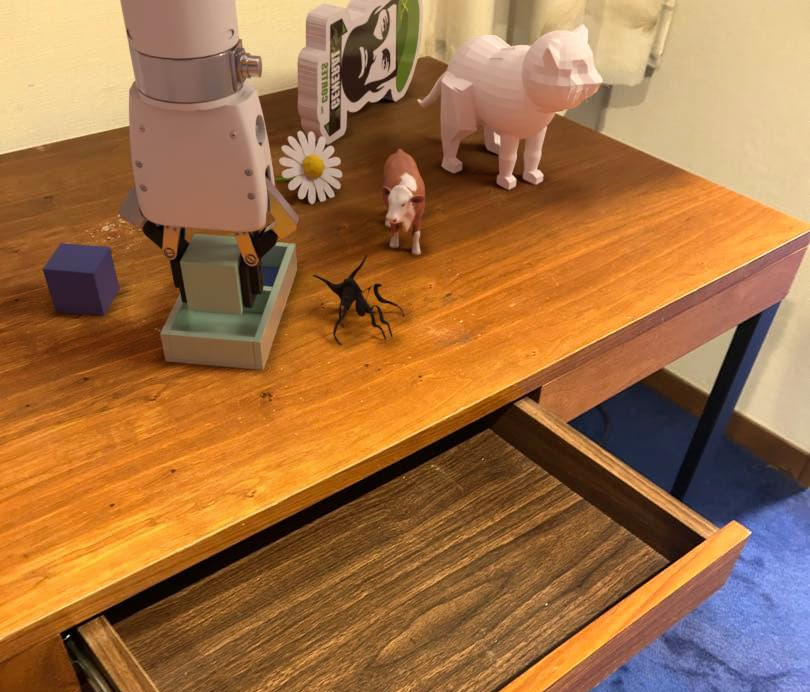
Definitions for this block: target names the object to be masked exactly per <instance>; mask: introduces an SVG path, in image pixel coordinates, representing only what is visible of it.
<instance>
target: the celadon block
mask: <svg viewBox="0 0 810 692" xmlns="http://www.w3.org/2000/svg"><path fill="white" fill-rule="evenodd" d="M189 242H190V243H189V245H188V247H187V249H186V251H185V253H184V255H183V257H182V259H181V261H180V265H181V270H182V276H183V282H184V287H185V293H186V298H187V304H188V310H189V311H200V312H212V313H224V314H237V315H242V313H243V310H244V308H245V306H243V299H242V291H241V283H240V275H239V265H240V263H241V261H242V254H241V252H240V249H239V246H238V244H237V241H236V239H235V236H227V235H216V234H202V233H194V234H193V235H192V237H191V239H190V241H189Z"/></svg>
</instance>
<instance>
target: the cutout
mask: <svg viewBox="0 0 810 692" xmlns="http://www.w3.org/2000/svg"><path fill="white" fill-rule="evenodd" d="M423 22H424V7H423V0H350V1H349V2H348V4H347V6H346V8H344V7H341V6H336V5H331V4H327V3H322V4H320V5H318V6H316V7H314V8H312V9H310V10H309V11H308V13H307V15H306V17H305V47H303V48H302V49H300V51H299V53H298V56H297V64H296V65H297V94H298V95H297V112H298V115H299V117H300V126H301V128H302V130H303V131H304V134H305V136H306V138H308V133H309V132H311V131H312V132H313V133H314V135H315V143H317V142H318V139H319V138H320V137H321V136H323V137H324V138H325V139H326V144H325V146H329V145H330V144H331V143H334V142H335V141H336V140H338V139H339V138H341V137H342V136H344V135H345V134H346V131H347V127H348V126H347V125H348V112H350V113H356V112H358V111H360V110H361V109H362V108H363V107H364V106H365V105H366V104H367V103H377V102H379V101H380V100H381V99H385V100H389V101H392V102H395V103H396V102H398V101H399V100H400V99H402V98H403V97H405V95H406V93H407V91H408V89H409V87H410V84H411V83H412V79H413V76H414V73H415V70H416V66H417V62H418V59H419V55H420V48H421V44H422V43H421V42H422V33H423Z"/></svg>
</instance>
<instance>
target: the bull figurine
mask: <svg viewBox="0 0 810 692" xmlns="http://www.w3.org/2000/svg"><path fill="white" fill-rule="evenodd" d="M382 182H383V183H382V184H383V185H382V186H381V191H382V199H383V202H384V204H385V206H386V211H387V213H386V215H385V222H384V226H385V227H388V228H390V232H391V234H392V235H391V237H390V241H389V247H390V248H392V249H396V248H397V249H398V247H399V246H400V244H399V230H400V227H401V229H402V232H403V233H404V234H405V233H407V232H408V231H409V229H410V228H411V227H412V231H411V236H412V245H411V254H413V255H415V256H418V255H421V254H422V251H421V248H420V237H421V227H422V223H423V218H422V217H423V215H424V213H425V209H426V187H425V183H424V179H423V178H422V176H421V175H420V172H419V168H418V166H417V163H416V161H415V159H414V158H413V156H411V155H410V154H408V153H406V152H405V151H404V150H403V148H398V149H397V150H396V152H395V153H392V154H391V155H389V156H388V158H387V160H386V161H385V164H384V165H383V174H382ZM399 226H400V227H399Z"/></svg>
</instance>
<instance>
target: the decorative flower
mask: <svg viewBox="0 0 810 692" xmlns="http://www.w3.org/2000/svg"><path fill="white" fill-rule="evenodd" d="M296 135H297V139H298V140H296V138H295V137H293V136H292V135H289V136H288V137H287V138H286V139H287V142H288V144H289V145H285V144H283V145H282V146H281V151H282V152H283V153H284V154H285V155H286V156H287V157H285V156H284V157H283V156H282V157H279V159H278V162H279V165H281V166H283V167H287V169H284V170H283V171H281V177H274V181H275V182H288V184H287V189H288V190H290V191H291V192H292V191H295V190H297V188H298V187H299V186H300V187H299V188H298V191H297V198H298V199H299V200H304V198H306V196H307V201H308V203H309V204H310V205H313V204H315V202H316V200H317V199H316V198H318V200H319V202H320V203H322V202H325V201H327V197H328V198H329V199H332V198H334V197H335V192H334V190H333V188H334V189H336V190H340V189H341V187H342V186H341V185H342V184H341V182H340V181H339V180H337V179H341V178H342V177H343V171H341V169H338V168H334V167H337V166H339V165H341V163H342V162H341V161H342V160H341V159H340V157H337V156H333V157H331V156H332V155H334V153H335V147H334V146H333V145H327V147H326V139H325V138H324V137H323V136H321V137H320V138H319V139H318V142H316V141H315V135H314V133H313V132H312V131H311V132H309V133H308V137H307V136H306V133H305V132H303V131H301V130H299V131H298V132H297V133H296ZM298 141H299V142H298ZM290 146H291V147H290ZM325 147H326V148H325ZM336 178H337V179H336ZM331 186H332V187H333V188H332V187H331ZM316 194H317V195H316ZM316 196H317V197H316ZM326 196H327V197H326Z"/></svg>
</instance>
